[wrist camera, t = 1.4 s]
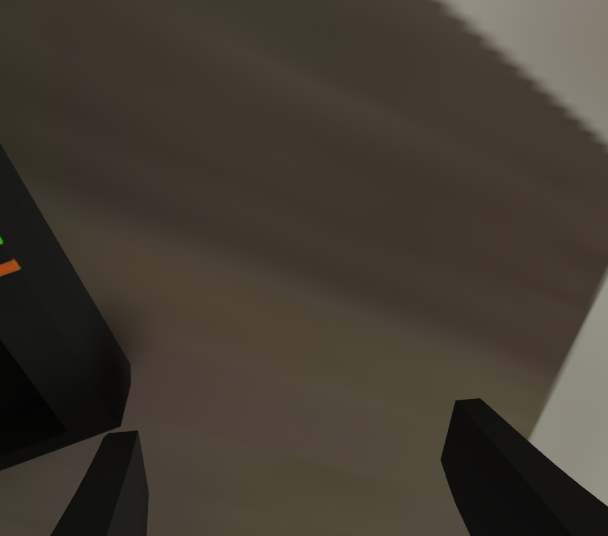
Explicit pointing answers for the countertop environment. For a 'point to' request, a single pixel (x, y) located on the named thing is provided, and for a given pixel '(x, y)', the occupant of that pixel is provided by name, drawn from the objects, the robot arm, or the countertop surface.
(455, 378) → the countertop surface
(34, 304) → the battery charger
